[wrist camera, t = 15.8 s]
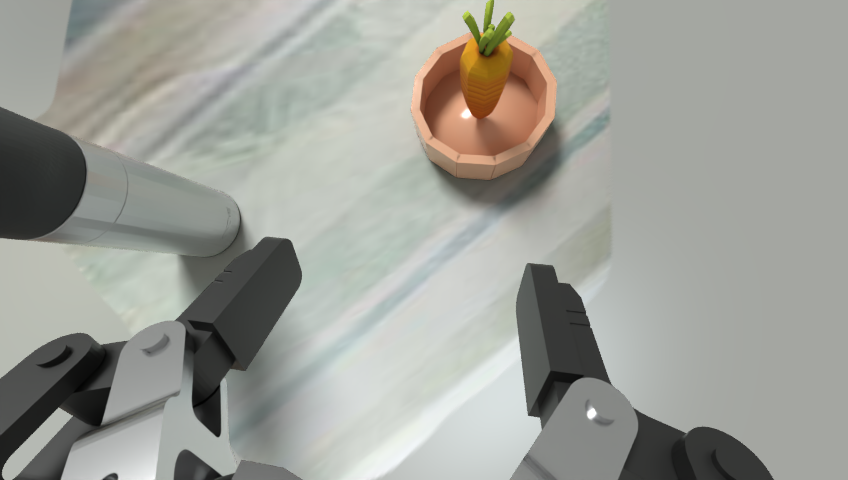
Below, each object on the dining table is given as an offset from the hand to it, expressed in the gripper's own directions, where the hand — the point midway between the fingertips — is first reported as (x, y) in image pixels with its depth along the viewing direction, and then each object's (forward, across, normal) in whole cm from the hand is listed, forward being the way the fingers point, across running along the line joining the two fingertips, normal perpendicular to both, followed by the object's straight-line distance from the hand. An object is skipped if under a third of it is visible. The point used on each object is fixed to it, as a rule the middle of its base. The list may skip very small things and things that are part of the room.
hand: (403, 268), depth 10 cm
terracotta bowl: (+34, -3, +4) cm, 34 cm away
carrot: (+33, -3, +4) cm, 33 cm away
